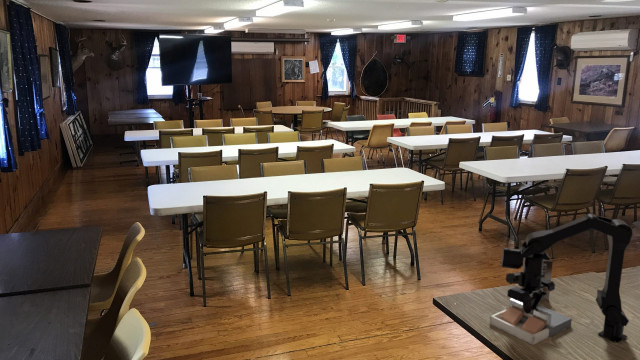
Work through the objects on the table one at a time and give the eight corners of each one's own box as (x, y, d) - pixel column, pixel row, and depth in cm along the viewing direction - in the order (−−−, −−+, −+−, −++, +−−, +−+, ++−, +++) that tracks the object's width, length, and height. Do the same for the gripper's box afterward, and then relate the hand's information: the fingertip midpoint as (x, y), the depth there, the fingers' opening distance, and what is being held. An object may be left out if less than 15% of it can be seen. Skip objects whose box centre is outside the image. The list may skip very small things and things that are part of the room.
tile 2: (532, 319, 172) (530, 315, 171) (545, 325, 168) (543, 321, 167) (523, 330, 170) (522, 326, 170) (536, 336, 166) (535, 332, 165)
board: (527, 307, 188) (528, 300, 187) (571, 326, 174) (571, 318, 173) (505, 317, 181) (506, 309, 180) (548, 337, 167) (549, 328, 166)
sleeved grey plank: (512, 306, 181) (513, 297, 180) (551, 323, 168) (552, 314, 168) (508, 308, 179) (509, 299, 179) (546, 326, 167) (547, 316, 166)
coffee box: (525, 299, 195) (528, 260, 191) (520, 292, 201) (523, 254, 197) (549, 300, 194) (553, 261, 190) (543, 293, 200) (547, 255, 197)
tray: (505, 317, 181) (505, 309, 180) (548, 337, 167) (549, 329, 166) (489, 323, 176) (490, 315, 175) (532, 345, 162) (533, 336, 162)
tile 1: (511, 309, 179) (509, 306, 178) (523, 315, 175) (521, 311, 174) (503, 320, 177) (501, 316, 176) (515, 325, 173) (513, 322, 172)
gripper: (529, 257, 182) (525, 297, 185) (495, 268, 172) (492, 310, 175) (557, 267, 173) (553, 308, 176) (524, 279, 163) (520, 323, 166)
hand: (529, 312), depth 173 cm, fingers closed on sleeved grey plank, 2 cm apart
